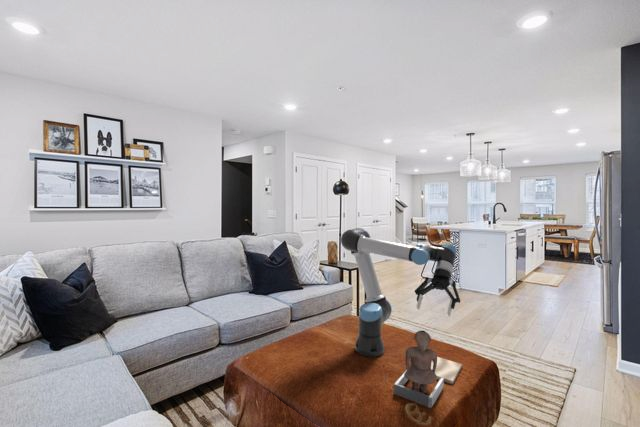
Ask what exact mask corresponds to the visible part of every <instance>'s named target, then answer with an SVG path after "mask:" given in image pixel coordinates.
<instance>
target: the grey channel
mask: <svg viewBox="0 0 640 427" xmlns="http://www.w3.org/2000/svg"><path fill="white" fill-rule="evenodd" d="M406 371H407V369H406V370H405V371H404V372H403V373H402V375H401V376H400V377H399V378H398V379H397V380H396V381H395V382H394V383H393V394H394V395H396V396H399V397H401V398H404V399H407V401H408V400H409V401H411V402H414V403H416V404H418V405H421V406H424V407H427V408H429V409H432V408H433V405H434V404H435V403H436V401H437V399H438V398H439V396H440V394H441V393H442V391H443V389H444V384H445V382H444V378H441V379H440V380H438V382H437V384H436V385H435V387H434V388H433V389H432V392H431V393H430V395H428V394H427V393H422V392H421V391H420V392H418V391H415V390H413V388H410V387H406V386H405V385H406V383H407V382H408V379H407V378H405V376H404V373H405V372H406Z"/></svg>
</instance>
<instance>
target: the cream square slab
mask: <svg viewBox="0 0 640 427" xmlns="http://www.w3.org/2000/svg"><path fill="white" fill-rule="evenodd" d="M462 368H463V364H462V363H459V362H457V361H456V362H455V361H452V360H449V359H446V358H443V357H439V356H437V365H436V370H435V374H436V376H437V380H438V381H440V379H441V378H444V383H447V384H449V385H453V384H454V382H455V381H456V380H457V378H458V377H459V376H458V375H459V373H460V372H461V370H462ZM431 369H432V370H433V361H431Z"/></svg>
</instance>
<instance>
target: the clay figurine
mask: <svg viewBox="0 0 640 427" xmlns="http://www.w3.org/2000/svg"><path fill="white" fill-rule="evenodd" d="M413 339H414V341H415V342H416V345H417V346H409V347H407V348H406V349H405V367H406V370H407V371H406V370H405V371H406V372H405V371H404V372H405V373H404V372H403V374H404V376H405V378H407V379H408V380H409V381H410V382H412V383H411V384H412V386H411V387H412V388H411V389H412V390H415V391H418V392H420V393H423V394H427V393H428V389H427V386H428V385H432V384H434V383H435V382H436V381H437V380H438V379H437V376H436V374H435V370H436V365H437V357H438V354H437V352H436V351H435V350H434V349H432V348H429V347H430V343H431V341H432V337H431V335H430V334H429V333H428V332H427V331H426V330H418V331H416V332H415V333H414V336H413ZM431 361H433V370H432V369H431Z"/></svg>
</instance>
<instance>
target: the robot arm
mask: <svg viewBox="0 0 640 427" xmlns="http://www.w3.org/2000/svg"><path fill="white" fill-rule="evenodd" d="M340 244H341V246H342V247H343V248H344V249H345V250H346V251H350V254H351V255H352V256H354V258H355V261H356V264H357V268H358V272H359V274H360V278H361V282H362V286H363V289H364V292H365V295H366V298H365V300H364V302H365V303H363V304H361V306H360V307H359V312H358V316H359V317H358V336H357V339H356V342H355V345H354V350H355V352H357V353H358V354H359V355H360V356H364V357H373V358H374V357H379V356H382V355H384V353H385V345H384V342H383V338H382V325H384V323H385V322H386V321H388V320H389V318H390V316H391V314H392V309H393V308H392V305H391V303H390V301H388V300H387V298H386V295H385V294H384V293H382V291H381V287H380V284H379V280H378V276H377V273H376V270H375V266H374V263H373V260H372V256H371V254H374V255H379V256H384V257H389V258H393V259H397V260H403V261H409V262H411V263H414V264H415V265H418V266H419V265H420V266H422V265H426V264H427V263H428V262H429V261H432V262H434V263H435V262H436V266H435V270H434V272H433V276H432V278H429V277H427V276H426V277H425V278H424V281H422V282H421V284H420V285H419V286H417V288H415V290H414V293H415V295H416V302H417V304H416V309H417V310H420V309H421V305H422V302H423V299H424V295H426V294H427V293H429V292H430V291H432V290H434V289H435V290H440V291H443V290H444V291H445V293H446V294H447V295H448V296H449V299H450V300H449V302H448V303H449V304H448V308H447V312H446V313H447V315H448V317H451V314H452V310H454V309H455V307H456V304H457V303H459V304H460V303H461V299H460V296H459V293H458V289H457V284H456V283H457V282H456V281H454V280H453V281H452V282H451V277H452V272H453V267H454V264H455V260H456V256H457V252H458V251H457V248H456V247H455V246H454V245H453V244H450V243H444V244H442V245H441V247H440V246H433V245H429V244H424V243H416V245H415V246H413V245H408V244H403V243H397V242H393V241H387V240H383V239H377V238H372V237H371V235H370V233H369V231H368V230H366V229H364V228H361V227H356V228H353V229H348V230H345V231H344V232H343V233H342V235H341V237H340ZM428 284H429V285H428ZM448 287H452V289H453V292H454V295H453V293H452V292H451V290H449V288H448Z"/></svg>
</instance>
